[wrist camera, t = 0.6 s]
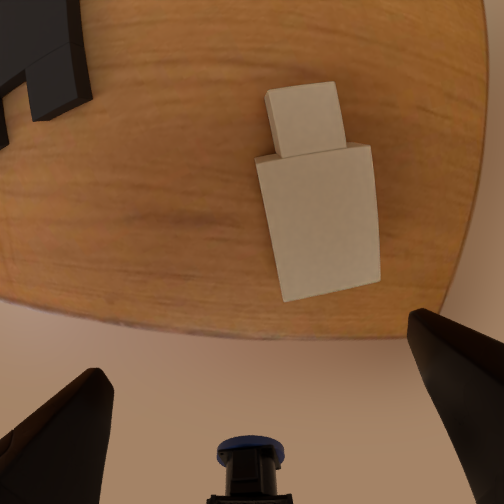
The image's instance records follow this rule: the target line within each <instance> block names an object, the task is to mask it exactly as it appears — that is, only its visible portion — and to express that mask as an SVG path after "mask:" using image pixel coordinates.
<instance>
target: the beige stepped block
mask: <svg viewBox="0 0 504 504" xmlns="http://www.w3.org/2000/svg"><path fill="white" fill-rule="evenodd" d="M264 99H265V104H266V108H267V113H268V118H269V122H270V127H271V132H272V136H273V141H274V146H275V151H276V153H277V154H271V155H266V156H261V157H256V158H255V164H256V169H257V173H258V178H259V183H260V188H261V192H262V197H263V202H264V207H265V212H266V217H267V222H268V227H269V232H270V237H271V242H272V247H273V252H274V257H275V262H276V267H277V272H278V277H279V282H280V287H281V292H282V297H283V301H284V302H288V301H293V300H298V299H303V298H308V297H312V296H317V295H322V294H326V293H331V292H336V291H340V290H344V289H349V288H353V287H358V286H362V285H366V284H370V283H375V282H379V281H380V245H379V226H378V212H377V199H376V189H375V179H374V170H373V162H372V154H371V147H370V145H366V144H360V143H355V142H346V138H345V132H344V126H343V120H342V115H341V110H340V105H339V100H338V95H337V90H336V85H335V82H334V81H332V82H322V83H313V84H305V85H297V86H290V87H283V88H277V89H271V90H268V91H267V93H266V95H265V97H264Z"/></svg>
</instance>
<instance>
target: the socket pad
mask: <svg viewBox="0 0 504 504" xmlns="http://www.w3.org/2000/svg"><path fill="white" fill-rule="evenodd" d="M25 81H27V89H28V97H29V103H30V109H31V115H32V121H33V122H36V121H50V120H51V119H53V118H55V117H57V116H59V115H61V114H63V113H65V112H67V111H69V110H71V109H73V108H75V107H77V106H79V105H81V104H84V103H86V102H88V101H90V100H92V99H93V98H92V93H91V88H90V82H89V76H88V70H87V64H86V58H85V51H84V44H83V36H82V27H81V17H80V6H79V0H0V150H1V149H2V148H4V147H6V146H7V145H8V144H9V142H8V136H7V131H6V125H5V119H4V112H3V105H2V99H1V98H2V97H4V96H5V95H6V94H8V93H9V92H10V91H12V90H13V89H15V88H16V87H17V86H19V85H20V84H22V83H23V82H25Z"/></svg>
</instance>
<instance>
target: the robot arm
mask: <svg viewBox="0 0 504 504" xmlns="http://www.w3.org/2000/svg"><path fill="white" fill-rule="evenodd" d="M407 340H408V343H409V346H410V348H411V351H412V353H413V356H414V358H415V361H416V364H417V366H418V369H419V371H420V374H421V377H422V379H423V382H424V385H425V387H426V389H427V391H428V393H429V395H430V397H431V399H432V401H433V403H434V405H435V407H436V409H437V411H438V413H439V415H440V418H441V419H442V422H443V424H444V426H445V428H446V430H447V433H448V435H449V437H450V439H451V441H452V444H453V446H454V448H455V451H456V453H457V455H458V458H459V460H460V462H461V465H462V467H463V469H464V472H465V474H466V477H467V480H468V482H469V484H470V487H471V490H472V492H473V495H474V498H475V500H476V504H504V343H502V342H500V341H498V340H495V339H493V338H491V337H489V336H486V335H484V334H482V333H480V332H477V331H475V330H473V329H471V328H468V327H466V326H464V325H461V324H459V323H457V322H455V321H452V320H450V319H448V318H445V317H443V316H441V315H438V314H436V313H434V312H432V311H429V310H427V309H424V308H420V309H417V310H414V311H411V312H410V313H409V317H408V329H407ZM113 400H114V388H113V386H112V384H111V383H110V381H109V379H108V378H107V376H106V375H105V373H104V372H103V371H102V370H101V369H100V368H89V369H87V370H86V371H84V372H83V373H82V374H81V375H79V376H78V377H77V378H76V379H74V380H73V381H72V382H71V383H69V384H68V385H67V386H66V387H64V388H63V389H62V390H61V391H59V392H58V393H57V394H56V395H55V396H53V397H52V398H51V399H50V400H48V401H47V402H46V403H45V404H43V405H42V406H41V407H40V408H38V409H37V410H36V411H35V412H34V413H32V414H31V415H30V416H29V417H27V418H26V419H25V420H24V421H23V422H21V423H20V424H19V425H18V426H16V427H15V428H14V430H11V431H10V432H9V433H8V434H7V435H5V436H4V437H3V438H1V439H0V504H99V500H100V492H101V484H102V478H103V471H104V465H105V459H106V453H107V448H108V442H109V437H110V429H111V419H112V409H113ZM218 455H219V457H220V458H221V460H222V461H223V463H224V464H225V466H226V490H225V491H226V492H225V496H216V495H211V498H210V499H207V502H206V503H207V504H293V499H292V494H286V495H277V483H276V470H279V469H281V464H280V461H279V458H278V455H277V453H276V450H275V447H274V445H271V444H269V445H261V446H252V447H243V448H231V449H219V450H218Z"/></svg>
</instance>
